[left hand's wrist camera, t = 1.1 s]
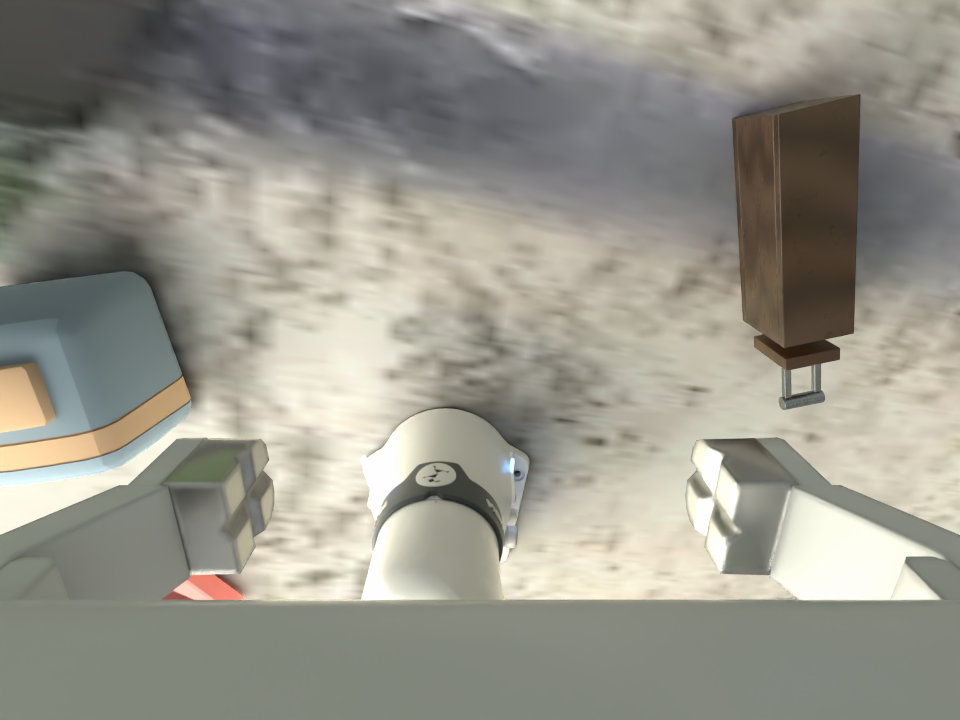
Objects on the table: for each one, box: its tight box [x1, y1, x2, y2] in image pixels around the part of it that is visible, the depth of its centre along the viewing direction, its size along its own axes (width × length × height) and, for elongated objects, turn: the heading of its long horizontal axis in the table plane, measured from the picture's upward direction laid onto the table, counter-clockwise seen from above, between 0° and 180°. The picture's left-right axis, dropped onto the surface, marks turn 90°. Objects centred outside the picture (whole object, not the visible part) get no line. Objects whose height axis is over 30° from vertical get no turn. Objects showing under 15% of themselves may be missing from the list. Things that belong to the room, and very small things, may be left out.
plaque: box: [161, 574, 243, 600], centre depth 68 cm, size 18×4×15 cm
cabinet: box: [732, 94, 860, 348], centre depth 48 cm, size 19×6×8 cm, turn 13°
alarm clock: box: [0, 271, 192, 487], centre depth 49 cm, size 16×16×16 cm
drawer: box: [754, 335, 840, 410], centre depth 50 cm, size 24×5×6 cm, turn 13°
